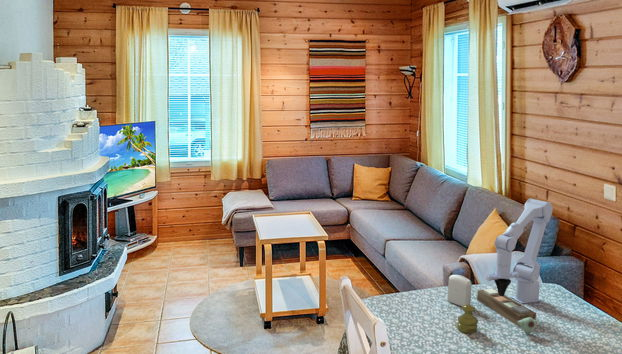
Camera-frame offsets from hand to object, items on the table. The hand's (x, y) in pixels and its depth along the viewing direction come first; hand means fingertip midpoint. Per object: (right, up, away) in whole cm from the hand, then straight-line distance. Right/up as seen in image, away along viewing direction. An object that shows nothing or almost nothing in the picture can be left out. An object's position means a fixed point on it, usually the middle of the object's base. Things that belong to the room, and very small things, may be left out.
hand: (501, 295), depth 243 cm
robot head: (+3, -10, -23) cm, 25 cm away
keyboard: (+1, -6, -2) cm, 7 cm away
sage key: (+2, -5, -6) cm, 7 cm away
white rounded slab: (-16, -5, +5) cm, 18 cm away
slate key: (+4, -5, -12) cm, 13 cm away
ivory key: (-2, -1, +6) cm, 7 cm away
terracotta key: (0, -3, +1) cm, 3 cm away
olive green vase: (-19, -9, -20) cm, 29 cm away
